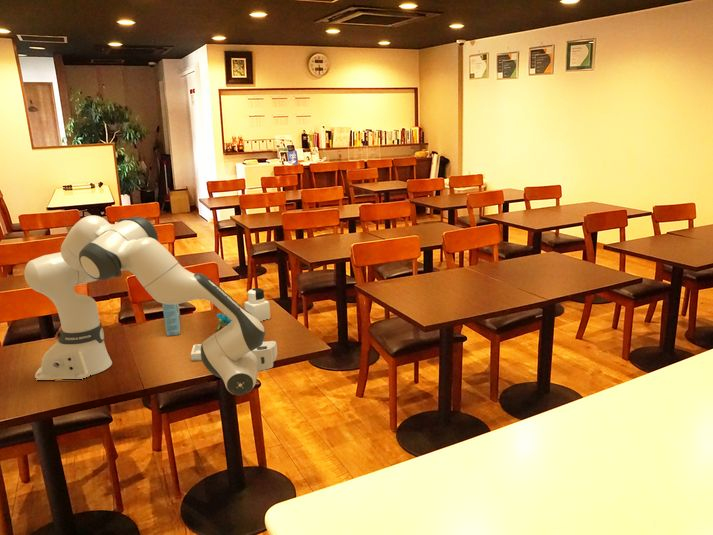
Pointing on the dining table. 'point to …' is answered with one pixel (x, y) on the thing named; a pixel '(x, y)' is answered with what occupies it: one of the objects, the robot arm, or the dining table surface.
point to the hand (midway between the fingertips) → (244, 342)
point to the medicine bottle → (257, 304)
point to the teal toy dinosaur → (223, 320)
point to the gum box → (171, 319)
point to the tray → (196, 353)
